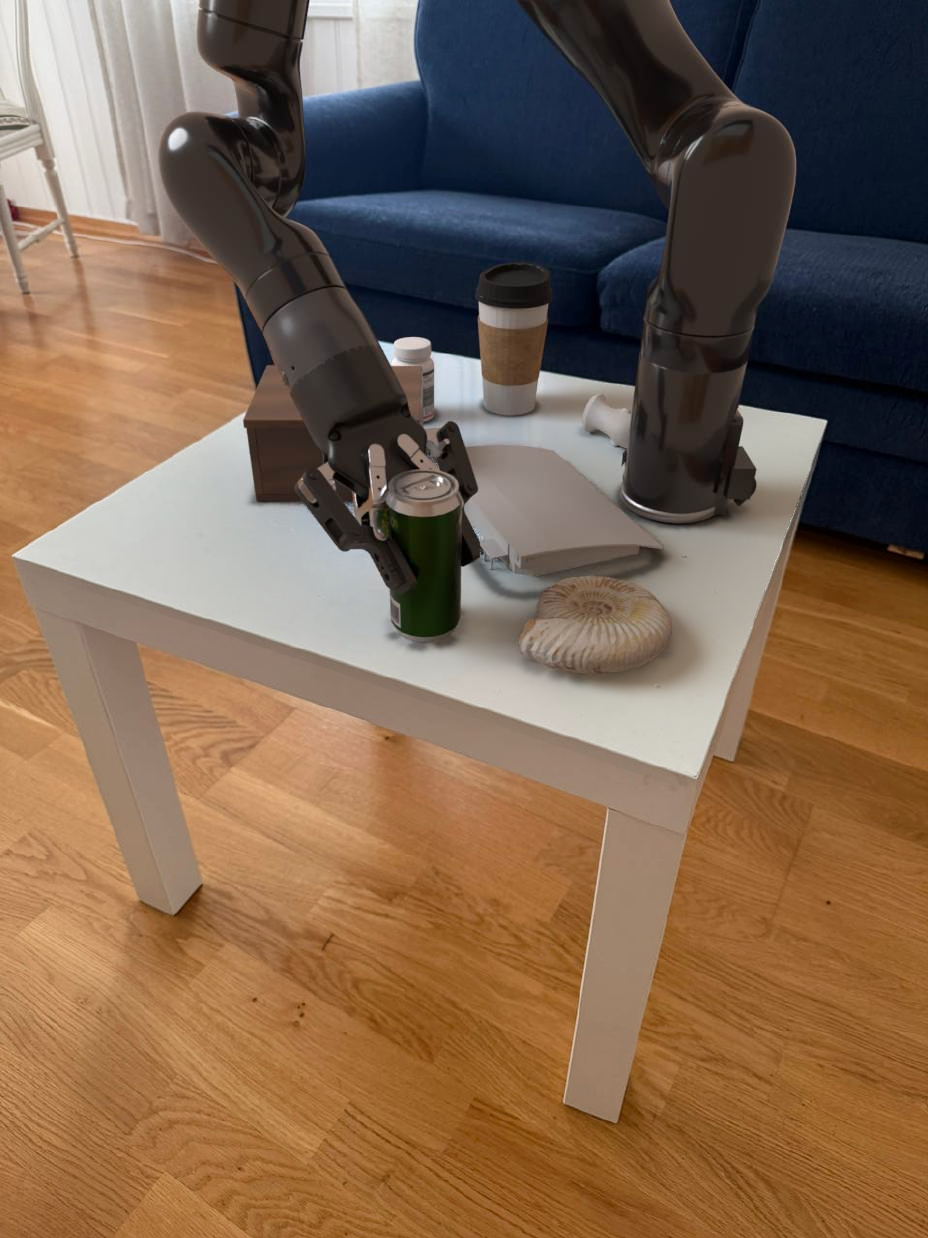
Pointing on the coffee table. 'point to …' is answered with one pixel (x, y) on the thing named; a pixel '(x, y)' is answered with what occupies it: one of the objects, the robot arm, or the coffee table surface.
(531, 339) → the coffee cup
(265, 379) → the lid
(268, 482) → the chest
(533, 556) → the white stadium model
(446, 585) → the beer can
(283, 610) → the coffee table surface
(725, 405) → the robot arm
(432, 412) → the pill bottle
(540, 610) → the fossil
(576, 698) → the coffee table surface
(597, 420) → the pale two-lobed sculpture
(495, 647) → the coffee table surface
